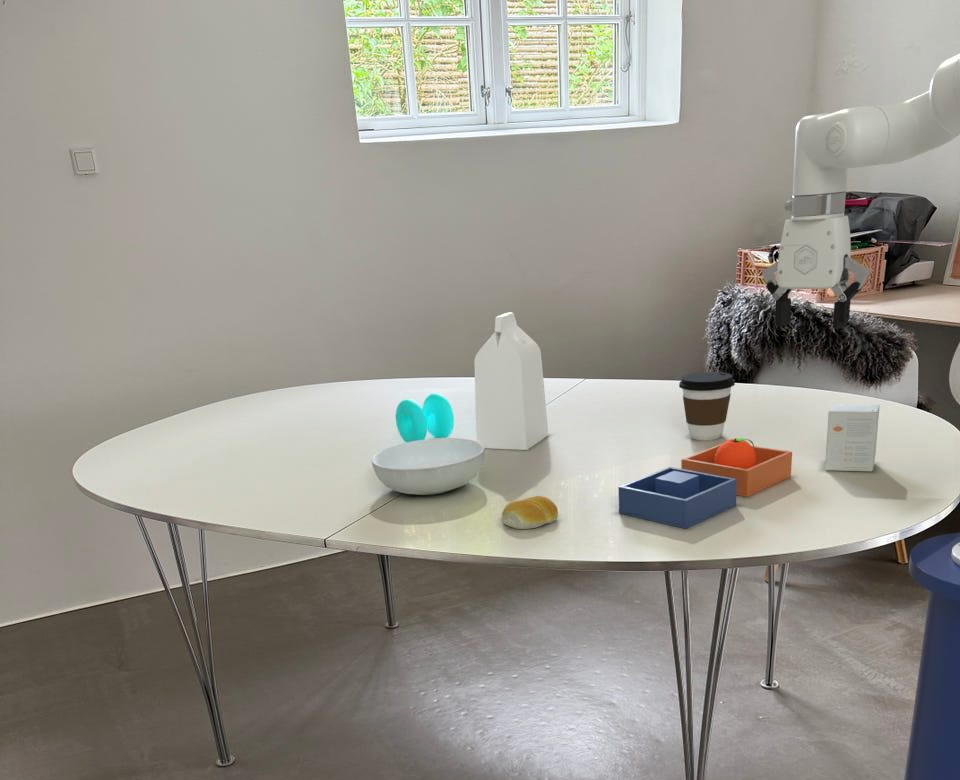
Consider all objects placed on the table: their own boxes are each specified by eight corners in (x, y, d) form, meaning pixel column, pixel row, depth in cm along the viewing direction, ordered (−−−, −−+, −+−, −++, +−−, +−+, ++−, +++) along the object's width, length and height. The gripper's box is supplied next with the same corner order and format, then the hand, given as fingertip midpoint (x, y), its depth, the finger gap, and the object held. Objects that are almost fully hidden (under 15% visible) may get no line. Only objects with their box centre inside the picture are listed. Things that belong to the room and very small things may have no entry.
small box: (875, 463, 168) (881, 403, 164) (872, 472, 164) (878, 411, 159) (827, 461, 171) (831, 403, 167) (823, 470, 167) (828, 410, 162)
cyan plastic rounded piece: (458, 440, 208) (454, 394, 203) (419, 450, 203) (414, 403, 198) (434, 433, 215) (429, 389, 211) (396, 443, 210) (390, 397, 206)
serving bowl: (412, 469, 190) (408, 435, 187) (506, 475, 180) (503, 439, 177) (354, 501, 174) (348, 464, 171) (453, 510, 164) (449, 471, 161)
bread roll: (567, 518, 155) (566, 495, 153) (527, 533, 150) (526, 509, 148) (532, 509, 161) (531, 486, 159) (493, 523, 156) (491, 500, 154)
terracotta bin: (790, 476, 165) (792, 451, 163) (746, 497, 157) (748, 470, 155) (725, 465, 174) (726, 441, 172) (681, 484, 167) (681, 459, 165)
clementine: (738, 469, 170) (740, 429, 167) (768, 476, 165) (770, 436, 161) (705, 479, 166) (706, 439, 163) (734, 487, 161) (735, 446, 158)
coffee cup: (713, 427, 200) (715, 369, 195) (744, 437, 191) (746, 376, 185) (668, 435, 197) (668, 376, 192) (697, 446, 188) (698, 385, 182)
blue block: (698, 505, 154) (699, 475, 152) (680, 513, 151) (680, 483, 149) (674, 499, 158) (674, 470, 156) (655, 507, 155) (655, 478, 153)
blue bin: (736, 505, 154) (737, 478, 152) (685, 528, 146) (686, 500, 144) (669, 492, 163) (669, 466, 161) (618, 513, 156) (618, 486, 154)
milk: (500, 433, 210) (491, 310, 199) (548, 435, 206) (542, 309, 194) (476, 447, 201) (466, 319, 189) (526, 449, 196) (518, 318, 185)
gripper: (753, 212, 145) (749, 328, 153) (861, 206, 133) (851, 332, 141) (779, 208, 150) (774, 321, 157) (886, 202, 138) (875, 324, 145)
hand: (810, 326), depth 149 cm, fingers open, 9 cm apart
